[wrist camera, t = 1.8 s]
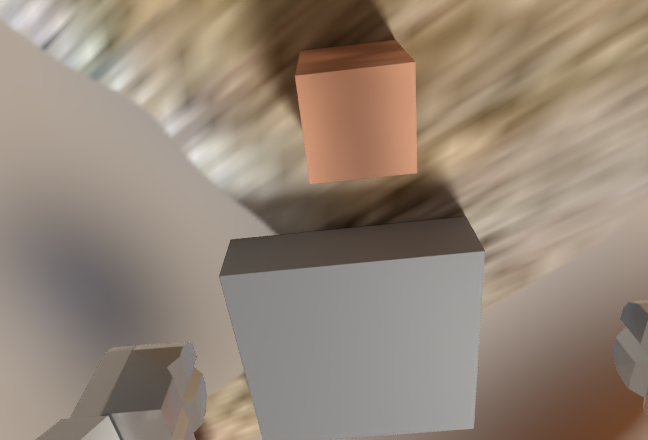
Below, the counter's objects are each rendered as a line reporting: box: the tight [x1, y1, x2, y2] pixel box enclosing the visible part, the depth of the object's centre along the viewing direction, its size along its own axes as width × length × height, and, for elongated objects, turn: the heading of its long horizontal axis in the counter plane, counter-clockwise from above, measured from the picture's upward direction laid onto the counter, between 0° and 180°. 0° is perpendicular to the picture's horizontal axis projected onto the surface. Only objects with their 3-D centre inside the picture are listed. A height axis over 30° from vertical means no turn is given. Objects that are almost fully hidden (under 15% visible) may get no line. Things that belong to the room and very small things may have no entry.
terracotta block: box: [295, 40, 417, 184], centre depth 24 cm, size 5×5×6 cm
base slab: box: [219, 216, 485, 440], centre depth 32 cm, size 15×15×4 cm
